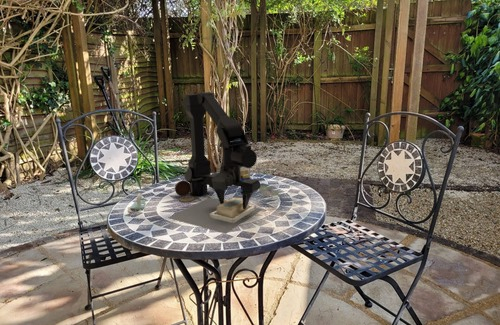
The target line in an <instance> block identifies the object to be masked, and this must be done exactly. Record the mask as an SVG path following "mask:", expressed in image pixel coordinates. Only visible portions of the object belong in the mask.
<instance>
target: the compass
mask: <svg viewBox="0 0 500 325" xmlns="http://www.w3.org/2000/svg"><path fill="white" fill-rule="evenodd" d="M190 190H191V186H190V184H189V182H187V181H186V180H183V179H182V180H180V181H178V182H177V183H176V185H175V186H174V192H175V194H177V195H178V196H179V198H178V202H180V203H192V202H194V201H195V199H199V198H200V196H199V197H198V196H191V195H188V194H189V193H190Z"/></svg>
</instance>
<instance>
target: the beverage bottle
mask: <svg viewBox="0 0 500 325" xmlns="http://www.w3.org/2000/svg"><path fill="white" fill-rule="evenodd" d="M247 139H248V137H247ZM248 140H249V139H248ZM238 141H240V140H238ZM231 142H233V141H231ZM240 169H241V175H242V176H243V179H241V181H246V180H248V179H251V168H246V167H240Z"/></svg>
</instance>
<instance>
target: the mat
mask: <svg viewBox="0 0 500 325" xmlns="http://www.w3.org/2000/svg"><path fill="white" fill-rule="evenodd" d="M226 201H227V200H224V203H225V202H226ZM219 205H221V203H220V201H219V199H218V198H217V199H216V198H212V197H207V198H206V199H203V200H201V201H199V202H197V203H195V204H193V205H191V206H189V207H187V208H185V209H183V210H181V211H179V212H177V213H176V212H175V213H174V214H172V215H170V216H168V217H167V218H168V219H171V220H174V221H178V222H181V223H185V224H189V225H192V226H197V227H200V228H203V229H207V230H212V231H215V232H218V233H220V234H221V233H222V234H228V233H230V232H231V231H232V230H234V229H235V228H237V227H238V226H240V225H241V224H243V223H244V222H246V221H247V220H249V219H250V218H252V217H254V216H256V214H258V213H260V212H261V211H263V210H264V209H263V208H261V207H260V208H259V207H257V206H256V205H254V204H253V205H252V204H249V203H248V207H249V209H247V210H246V211H244V212H242V213H241V214H239V215H238V216H236V217H234V218H229V217H225V216H221V215H217V206H219Z"/></svg>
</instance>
